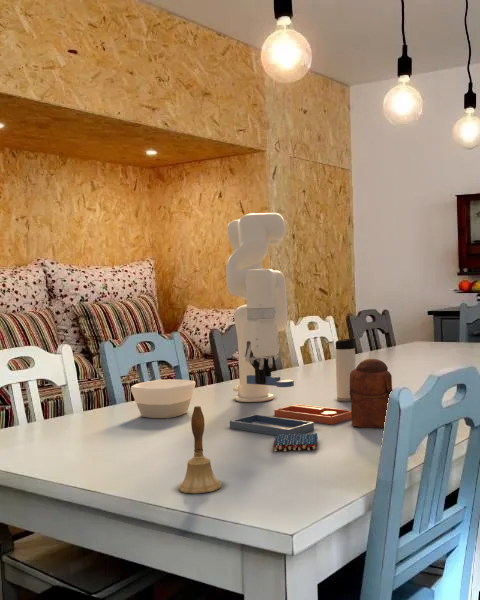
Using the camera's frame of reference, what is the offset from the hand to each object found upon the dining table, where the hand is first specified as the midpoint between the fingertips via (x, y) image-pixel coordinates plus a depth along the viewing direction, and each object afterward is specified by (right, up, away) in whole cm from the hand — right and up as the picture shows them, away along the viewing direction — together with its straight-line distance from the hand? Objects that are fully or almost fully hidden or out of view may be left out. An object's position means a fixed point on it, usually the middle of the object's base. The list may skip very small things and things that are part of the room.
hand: (263, 382), depth 194 cm
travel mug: (+25, -10, +39) cm, 47 cm away
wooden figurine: (+29, -12, -1) cm, 31 cm away
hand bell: (-10, -15, -52) cm, 55 cm away
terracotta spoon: (+14, -11, +13) cm, 22 cm away
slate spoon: (+2, 0, -1) cm, 2 cm away
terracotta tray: (+14, -11, +13) cm, 22 cm away
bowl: (-31, -13, +25) cm, 42 cm away
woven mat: (+9, -13, -21) cm, 26 cm away
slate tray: (+2, -12, -1) cm, 13 cm away
